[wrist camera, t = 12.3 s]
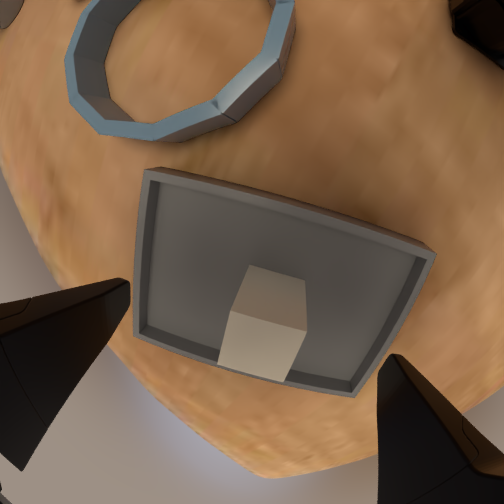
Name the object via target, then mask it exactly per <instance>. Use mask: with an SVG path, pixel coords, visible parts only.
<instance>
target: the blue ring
mask: <svg viewBox="0 0 504 504" xmlns="http://www.w3.org/2000/svg"><path fill="white" fill-rule="evenodd" d="M140 1H141V0H92V1H91V2H90V3H89V4H88V6H87V7H86V8H85V9H84V10H83V12H82V13H81V15H80V18H79V20H78V23H77V25H76V27H75V30H74V33H73V35H72V38H71V41H70V44H69V46H68V49H67V52H66V55H65V59H64V62H65V72H66V81H67V89H68V96H69V103H70V104H71V105H72V106H73V107H74V108H75V110H76V111H77V112H78V113H79V114H80V115H81V116H82V117H83V118H84V119H85V120H86V121H87V122H88V123H89V124H90V125H91V126H92V127H93V128H94V130H95V131H96V132H97V133H98V134H100V135H109V136H118V137H127V138H134V139H142V140H149V141H163V142H183V141H186V140H188V139H191V138H193V137H196V136H199V135H201V134H204V133H207V132H210V131H213V130H216V129H218V128H221V127H224V126H227V125H230V124H234V123H237V121H239V120H240V119H241V118H242V117H243V116H244V115H245V114H246V113H247V112H248V111H249V110H250V109H251V108H252V107H253V106H254V105H255V104H256V103H257V102H258V101H259V100H260V99H261V98H262V97H263V96H264V95H265V94H266V93H267V92H269V91H270V90H271V89H272V88H273V87H274V86H275V85H276V84H277V83H278V82H279V81H280V80H281V79H282V77H283V74H284V70H285V66H286V63H287V59H288V55H289V52H290V48H291V44H292V41H293V37H294V33H295V30H296V24H295V1H294V0H268V2H269V4H270V6H271V8H272V10H273V14H272V17H271V21H270V24H269V27H268V30H267V34H266V37H265V40H264V44H263V47H262V50H261V53H259V54H258V55H257V56H256V57H255V58H254V59H253V60H252V61H251V62H249V63H248V64H247V65H246V66H245V67H244V68H243V69H242V70H241V71H240V72H239V73H238V74H237V75H236V76H235V77H234V78H233V79H232V80H231V81H230V82H229V83H228V84H227V85H226V86H225V87H224V88H223V89H222V90H221V91H220V92H219V93H218V94H217V95H216V96H215V97H214V98H213V99H212V100H209V101H206V102H204V103H201V104H199V105H196V106H193V107H191V108H188V109H186V110H184V111H181V112H179V113H176V114H174V115H172V116H170V117H167V118H165V119H163V120H161V121H158V122H156V123H154V124H148V123H139V122H135V121H134V120H133V119H132V118H131V117H130V116H129V115H127V114H126V113H125V112H124V111H123V110H122V109H121V108H120V107H119V106H118V105H117V104H116V103H114V102H113V101H112V100H111V99H110V95H109V90H108V85H107V80H106V74H105V68H104V61H105V58H106V55H107V52H108V49H109V46H110V43H111V40H112V37H113V35H114V32H115V29H116V27H117V26H118V25H119V23H120V22H121V21H122V20H123V19H124V18H125V17H126V15H127V14H128V13H129V12H130V11H131V10H132V9H133V8H134V7H135V6H136V5H137V4H138V3H139V2H140Z"/></svg>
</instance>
